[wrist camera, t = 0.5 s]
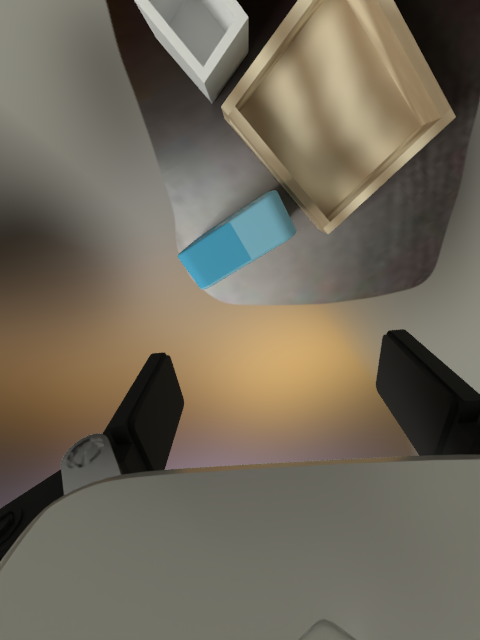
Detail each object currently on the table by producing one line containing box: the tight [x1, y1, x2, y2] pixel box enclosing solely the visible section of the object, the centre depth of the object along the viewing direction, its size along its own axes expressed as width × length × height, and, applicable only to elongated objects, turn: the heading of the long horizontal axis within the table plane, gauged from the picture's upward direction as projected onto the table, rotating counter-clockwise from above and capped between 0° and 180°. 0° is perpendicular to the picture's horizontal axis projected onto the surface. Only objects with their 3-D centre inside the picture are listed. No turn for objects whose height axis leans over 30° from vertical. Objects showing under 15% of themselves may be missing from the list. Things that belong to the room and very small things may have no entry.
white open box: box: [134, 0, 248, 103], centre depth 24 cm, size 6×8×6 cm
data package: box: [178, 190, 296, 289], centre depth 30 cm, size 12×4×12 cm, turn 122°
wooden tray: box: [221, 0, 456, 234], centre depth 28 cm, size 16×18×4 cm
